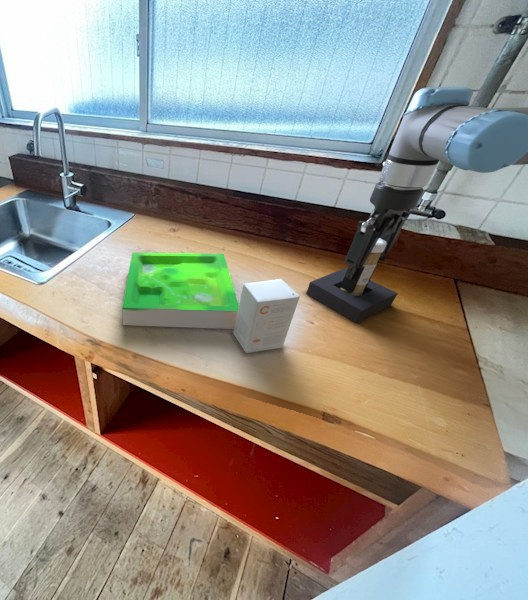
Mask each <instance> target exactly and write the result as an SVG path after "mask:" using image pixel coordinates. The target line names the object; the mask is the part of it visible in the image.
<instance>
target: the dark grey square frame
mask: <svg viewBox="0 0 528 600" xmlns="http://www.w3.org/2000/svg"><path fill="white" fill-rule="evenodd" d="M347 270H348V268H346V267H344V268H342V269H339V270H337V271H334V272H332V273H329V274H327V275H323V276H322V277H318V278H317V279H314V280H312V281H310V282H309V284H308V287H307V289H306V293H305V295H307V296H309V297H311V298H312V299H314V300H316V301H318V302H319V303H320V304H323V305H325V306H326V307H328V308H330V309H331V310H332V311H335V312H337V313H338V314H340V315H342V316H344V317H345V318H347V319H349V320H350V321H352V322H354V323H355V324H356V323H359V322H361V321H362V320H364V319H367V318H369V317H370V316H372V315H375V314H376V313H378V312H380V311H382V310H384V309H387V308H388V307H391V306H392V305H393V303H394V302H395V300H396V298H397V296H398V294H399V293H398V292H397V291H395V290H392V289H390V288H388V287H386V286H384V285H382V284H379V283H377V282H375V281H373V280H371V279H370V281H369V283H368V285H367V286H365V288H364V290H363V294H362V295H361V296H357V297H355V296H353V295H351V294H349V293H347V292H345V291H344V290H342V289H341V287H340V286H341V283H342V281H343V279H344V276H345V274H346V272H347Z"/></svg>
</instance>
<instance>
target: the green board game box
mask: <svg viewBox="0 0 528 600" xmlns="http://www.w3.org/2000/svg"><path fill="white" fill-rule="evenodd" d="M127 274H128V275H127V278H126V279H127V280H126V284H125V291H124V296H123V302H122V307H121V311H122V325H123V326H137V327H139V326H141V327H165V328H167V327H168V328H194V329H195V328H197V329H220V330H221V329H225V330H226V329H227V330H234V328H235V323H236V317H237V313H238V308H239V301H238V298H237V295H236V291H235V288H234V284H233V280H232V277H231V274H230V270H229V267H228V263H227V259H226V256H225V253H203V252H202V253H194V252H192V253H191V252H131V258H130V262H129V267H128V273H127Z"/></svg>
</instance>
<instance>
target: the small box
mask: <svg viewBox="0 0 528 600" xmlns="http://www.w3.org/2000/svg"><path fill="white" fill-rule="evenodd" d="M299 300H300V295H299V294H298V293H297V292H296V291H295V290H294V289H293V288H292V287H291V286H290V285H289V284H287V282H285V281H284V280H283V279H282V278H276V279H270V280H262V281H254V282H253V281H252V282H246V283H243V284H242V289H241V294H240V299H239V302H238V305H239V308H238V313H237V317H236V323H235V328H234V329H233V335H234V337H235V338H236V340H237V341H238V343H239V345H240V346H241V348H242V349H243V351H244V352H245V354H251V353H257V352H264V351H269V350H276V349H281V348H283V347H284V344H285V341H286V338H287V335H288V332H289V330H290V326H291V324H292V320H293V318H294V315H295V313H296V309H297V306H298V303H299Z"/></svg>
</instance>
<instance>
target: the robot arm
mask: <svg viewBox="0 0 528 600" xmlns="http://www.w3.org/2000/svg"><path fill="white" fill-rule="evenodd" d="M473 94H474V90H473V89H472V88H470V87H465V86H428V87H423V88H420V89H419V90H417V91H416V92H415V93H414V94H413V97H412V99H411V101H410V103H409V104H408V107H407V109H406V111H405V112H404V113H403V115H402V120H401V122H400V125H399V127H398V129H397V132H396V135H395V136H394V140H393V141H392V145H391V147H390V149H389V152H388V155H387V158H386V160H385V161H383V163H382V169H381V172H380V174H379V176H378V182H377V183H376V184H375V186H374V188H373V190H372V193H371V195H370V198H369V202H370V203H371V204H372V205H373V207H374V209H373V210H372V212H371V213H370V215H369V217H368V219H367V220H366V221H364V220H359V221H358V223H357V227H356V233H355V235H354V237H353V239H352V242H351V245H350V247H349V249H348V252H347V254H346V256H345V259H344V264H346V265H348V267H347V269H348V270H347V272H346V274H345V276H344V279H343V281H342V283H341V286H340V287H341V288H343V289H345V290H347V291H349V292H350V293H352V292H353V291H354V289H355V287H356V285H357V283H358V280H359V278H360V276H361V274H362V272H363V270H364V268H365V267H363V265H364V263H365V261H366V259H367V258H368V256H369V254H370V253H371V251H372V249H373V248H374V246H375V244H376V242H377V241H378V239H379V238H381V239H383V240H385V241H386V242H387V245H386V247H385V249H384V251H383V252H382V253H381V255H380V257H379V259H378V262H377V265H376V267H375V269H374V271H373V273H372V275H371V277H370V279H369V281H370V280H371V279H372V277H373V275H374V273H375V271H376V269H377V267H378V264H380V263H379V262H385V261H386V260H387V257H385V256H388V255H389V254H390V252H391V250H392V248H393V246H394V244H395V242H396V240H397V238H398V236H399V234H400V232H401V231H402V228H403V226H404V224H405V223H406V221H407V220H408V218H409V217H410V216H411V211H412V210H413V209H415V208H416V207H417V206H418V204H419V201H420V200H421V198H422V196H423V194H424V188H425V187H426V186H428V184H429V183H430V181H431V178H432V176H433V174H434V172H435V170H436V169H437V167H438V164H439V162H443V163H446V164H449V165H452V166H453V167H454V168H458V169H459V170H463V171H471V172H476V173H481V174H489V173H494V172H497V171H499V170H501V169H505V168H507V167H510V166H522V165H523V166H525V165H528V106H525V107H524V106H522V107H521V106H520V107H481V106H474V105H473V106H471V105H470V103H471V100H472V97H473ZM410 210H411V211H410ZM369 281H368V283H369ZM368 283H367V284H366V286H367V285H368Z"/></svg>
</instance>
